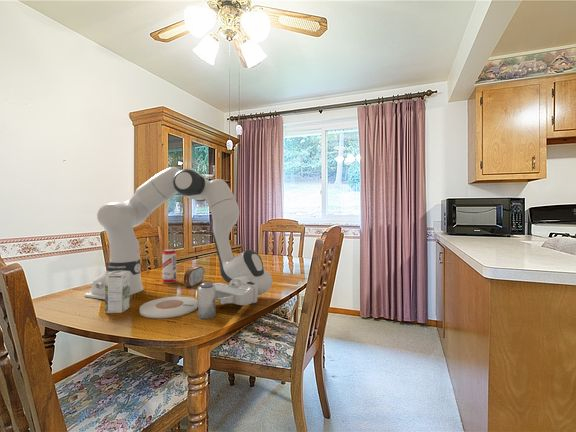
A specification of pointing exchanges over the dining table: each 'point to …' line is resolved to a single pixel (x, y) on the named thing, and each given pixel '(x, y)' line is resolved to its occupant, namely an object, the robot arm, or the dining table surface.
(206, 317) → the white drink can
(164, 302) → the disc
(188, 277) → the tin
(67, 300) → the dining table surface
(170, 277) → the beer can
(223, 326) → the dining table surface
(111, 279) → the syrup box
